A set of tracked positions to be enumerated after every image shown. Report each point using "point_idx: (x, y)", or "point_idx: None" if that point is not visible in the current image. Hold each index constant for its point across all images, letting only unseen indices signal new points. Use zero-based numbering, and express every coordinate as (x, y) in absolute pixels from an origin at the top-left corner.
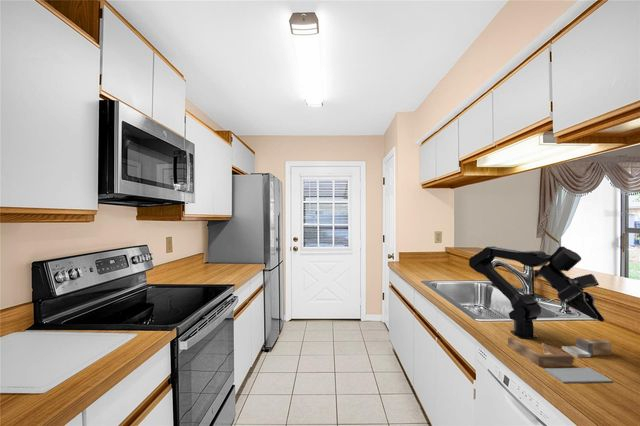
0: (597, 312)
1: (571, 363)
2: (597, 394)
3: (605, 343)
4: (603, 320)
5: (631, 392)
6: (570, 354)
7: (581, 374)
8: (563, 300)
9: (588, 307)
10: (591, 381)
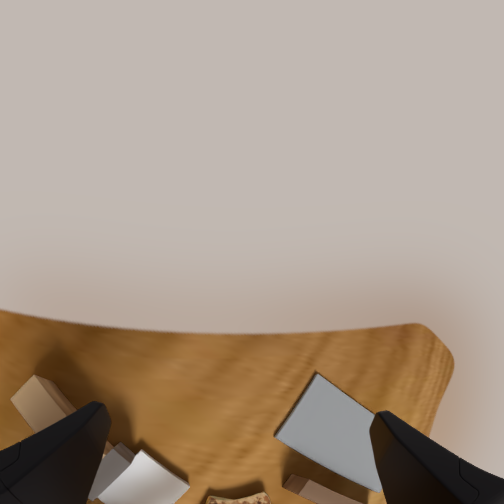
0: (66, 453)
1: (297, 476)
2: (398, 379)
3: (51, 397)
4: (106, 410)
5: (337, 335)
6: (211, 501)
7: (344, 434)
8: None
9: (454, 461)
10: (361, 406)
